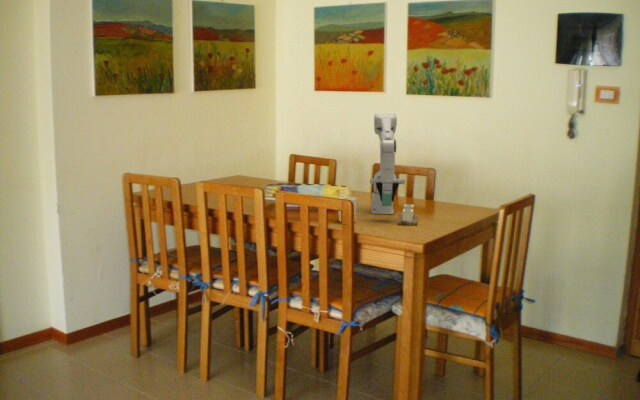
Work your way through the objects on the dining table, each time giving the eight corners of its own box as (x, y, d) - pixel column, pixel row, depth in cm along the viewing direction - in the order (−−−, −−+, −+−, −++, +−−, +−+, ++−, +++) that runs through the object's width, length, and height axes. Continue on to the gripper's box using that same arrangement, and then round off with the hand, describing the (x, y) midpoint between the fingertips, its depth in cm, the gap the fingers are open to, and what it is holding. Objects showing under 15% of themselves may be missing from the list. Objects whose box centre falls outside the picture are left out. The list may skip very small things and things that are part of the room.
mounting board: (397, 225, 281) (397, 220, 281) (399, 217, 296) (399, 213, 296) (417, 225, 280) (417, 221, 279) (418, 217, 295) (418, 213, 295)
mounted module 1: (403, 215, 291) (403, 205, 290) (404, 213, 295) (404, 204, 295) (413, 215, 290) (413, 206, 290) (413, 213, 295) (413, 204, 294)
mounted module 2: (402, 220, 280) (402, 210, 280) (402, 218, 285) (403, 208, 284) (412, 221, 280) (412, 211, 279) (412, 218, 284) (412, 209, 283)
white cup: (343, 219, 292) (343, 195, 291) (359, 221, 288) (360, 197, 287) (334, 222, 286) (334, 198, 284) (351, 224, 282) (351, 200, 280)
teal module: (381, 205, 286) (382, 193, 285) (382, 203, 290) (382, 192, 290) (391, 206, 285) (391, 194, 285) (392, 204, 290) (392, 192, 289)
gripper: (369, 169, 283) (368, 202, 285) (404, 170, 280) (404, 203, 283) (370, 167, 290) (370, 199, 292) (405, 168, 287) (404, 200, 290)
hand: (387, 200), depth 288 cm, fingers closed on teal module, 4 cm apart
